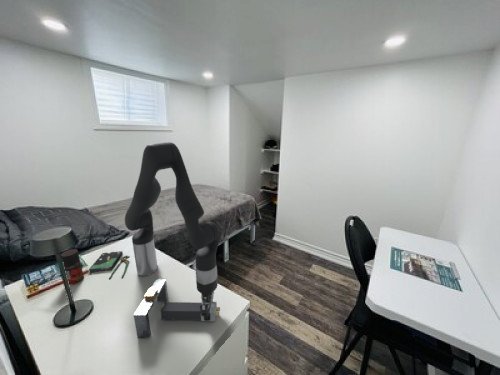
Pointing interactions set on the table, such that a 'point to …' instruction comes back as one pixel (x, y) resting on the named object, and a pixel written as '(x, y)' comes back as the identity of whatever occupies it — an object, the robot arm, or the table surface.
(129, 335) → the table surface
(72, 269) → the deodorant
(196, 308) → the grey two-tone block
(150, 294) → the u-shaped bracket
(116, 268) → the pliers
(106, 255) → the disk drive
